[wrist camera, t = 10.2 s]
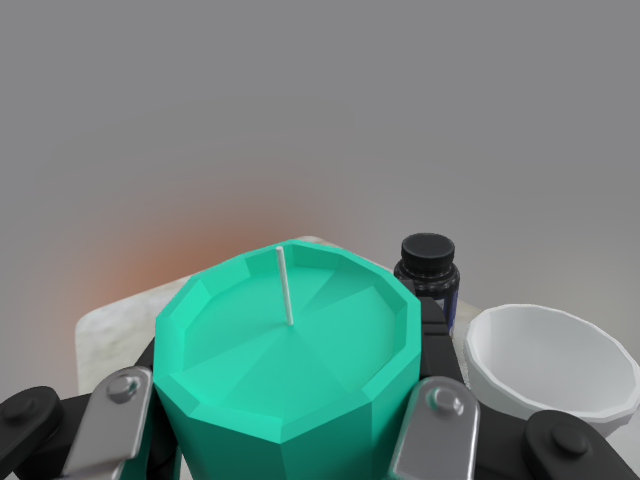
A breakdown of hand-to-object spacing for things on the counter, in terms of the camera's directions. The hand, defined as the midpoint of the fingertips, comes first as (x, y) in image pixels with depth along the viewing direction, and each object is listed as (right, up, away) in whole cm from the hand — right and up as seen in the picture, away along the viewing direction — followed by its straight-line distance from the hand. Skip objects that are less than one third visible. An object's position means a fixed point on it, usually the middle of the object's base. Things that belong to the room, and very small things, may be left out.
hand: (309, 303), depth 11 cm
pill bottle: (+11, -8, +27) cm, 30 cm away
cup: (+16, -13, +17) cm, 27 cm away
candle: (0, -9, +2) cm, 9 cm away
